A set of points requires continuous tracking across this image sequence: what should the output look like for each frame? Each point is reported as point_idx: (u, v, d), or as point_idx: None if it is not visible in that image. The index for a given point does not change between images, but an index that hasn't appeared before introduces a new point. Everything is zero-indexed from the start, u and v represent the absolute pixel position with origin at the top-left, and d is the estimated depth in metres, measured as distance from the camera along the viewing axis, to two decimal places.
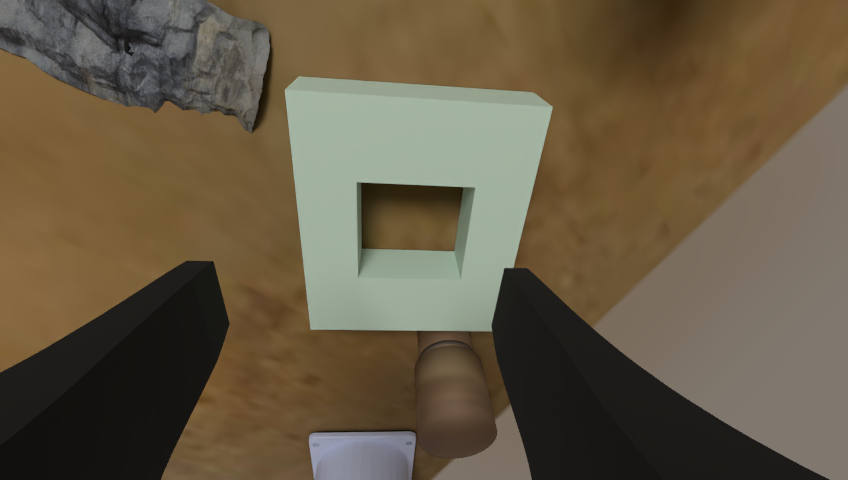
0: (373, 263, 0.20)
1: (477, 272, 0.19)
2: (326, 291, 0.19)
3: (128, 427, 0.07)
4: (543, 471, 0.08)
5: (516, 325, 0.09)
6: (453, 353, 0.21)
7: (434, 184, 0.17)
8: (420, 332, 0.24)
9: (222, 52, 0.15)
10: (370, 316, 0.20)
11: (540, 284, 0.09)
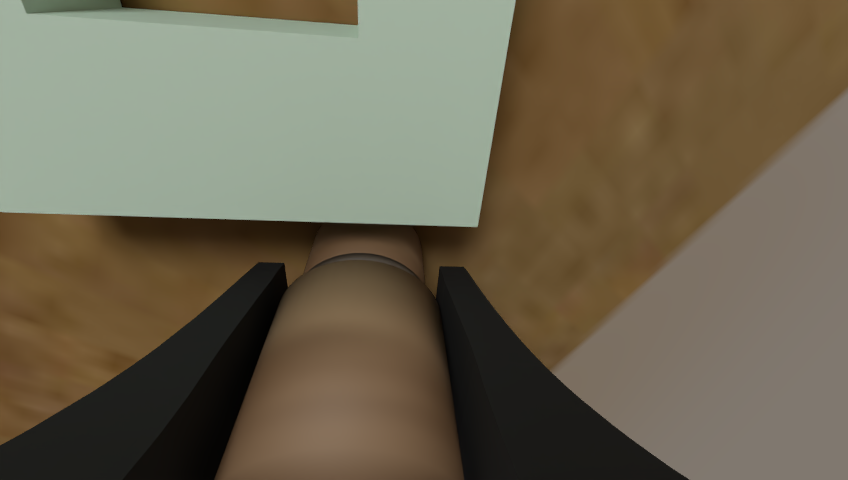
0: (119, 13, 0.07)
1: (407, 7, 0.06)
2: None
3: (228, 426, 0.07)
4: None
5: (445, 324, 0.09)
6: (357, 276, 0.08)
7: None
8: None
9: None
10: (124, 170, 0.07)
11: (470, 282, 0.09)
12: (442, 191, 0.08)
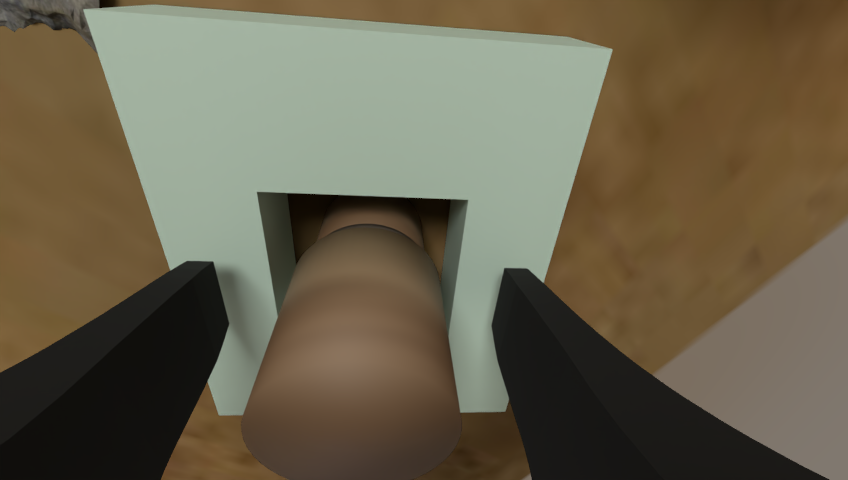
0: None
1: (473, 332, 0.12)
2: (234, 363, 0.12)
3: (128, 427, 0.07)
4: (543, 471, 0.08)
5: (516, 325, 0.09)
6: (362, 239, 0.09)
7: (397, 195, 0.10)
8: (320, 228, 0.12)
9: None
10: None
11: (540, 283, 0.09)
12: (485, 397, 0.14)
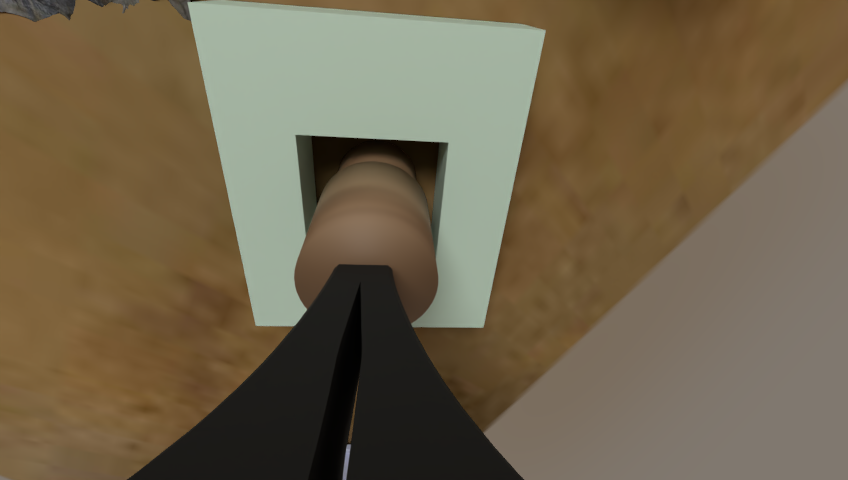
0: None
1: (456, 254, 0.16)
2: (271, 278, 0.16)
3: (338, 424, 0.07)
4: None
5: None
6: (371, 167, 0.12)
7: (396, 139, 0.13)
8: None
9: None
10: None
11: (387, 281, 0.09)
12: (467, 314, 0.17)
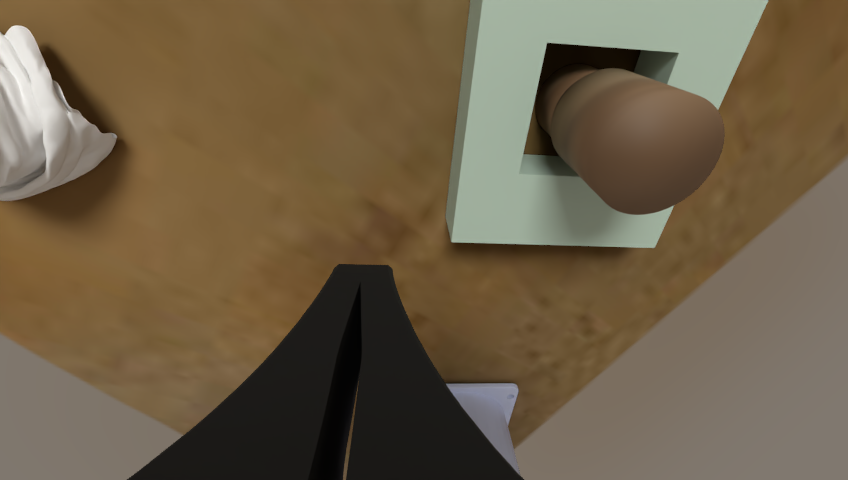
0: (526, 164, 0.18)
1: None
2: (480, 192, 0.17)
3: (338, 424, 0.07)
4: None
5: None
6: (621, 70, 0.14)
7: None
8: (546, 92, 0.17)
9: None
10: (521, 226, 0.18)
11: (386, 281, 0.09)
12: (644, 233, 0.19)
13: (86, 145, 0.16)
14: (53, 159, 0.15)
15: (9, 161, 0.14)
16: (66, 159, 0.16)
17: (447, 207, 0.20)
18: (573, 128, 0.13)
